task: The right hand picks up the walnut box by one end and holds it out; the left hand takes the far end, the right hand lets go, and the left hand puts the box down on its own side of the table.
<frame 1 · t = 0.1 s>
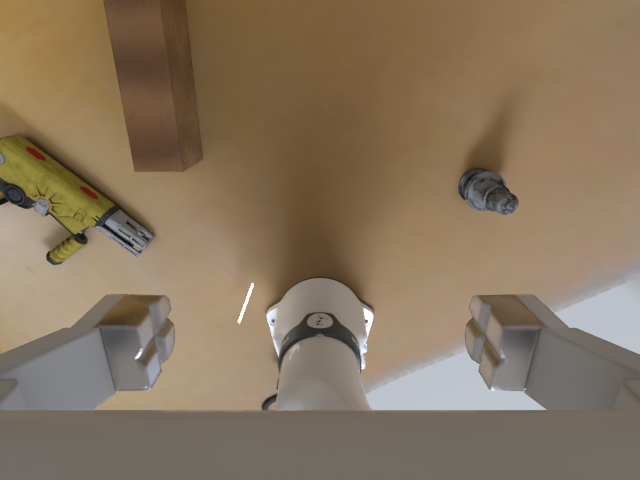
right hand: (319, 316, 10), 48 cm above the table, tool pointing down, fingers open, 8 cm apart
box: (170, 70, 52), on the table
grey chess piece: (475, 185, 57), on the table
toy gun: (68, 216, 59), on the table
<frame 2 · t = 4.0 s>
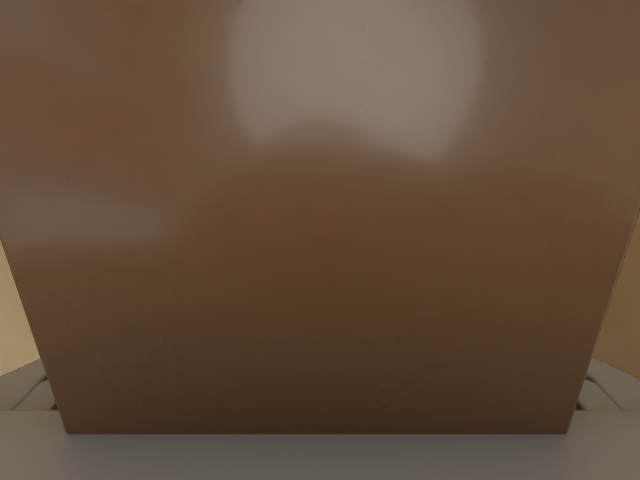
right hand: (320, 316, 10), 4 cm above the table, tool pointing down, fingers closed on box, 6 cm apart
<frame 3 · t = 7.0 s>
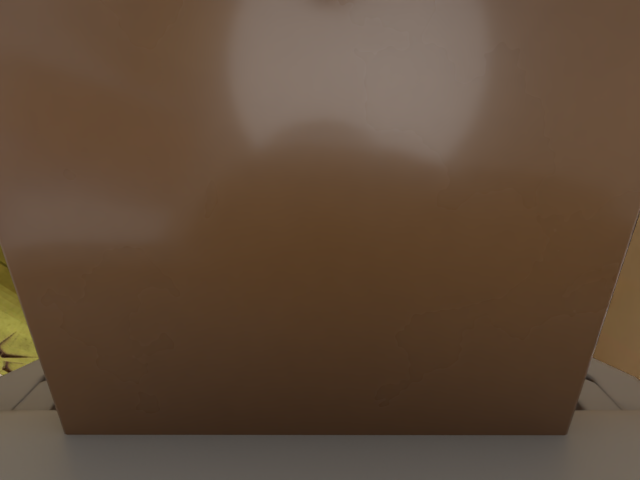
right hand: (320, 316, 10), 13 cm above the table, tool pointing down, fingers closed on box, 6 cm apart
toy gun: (50, 352, 27), on the table
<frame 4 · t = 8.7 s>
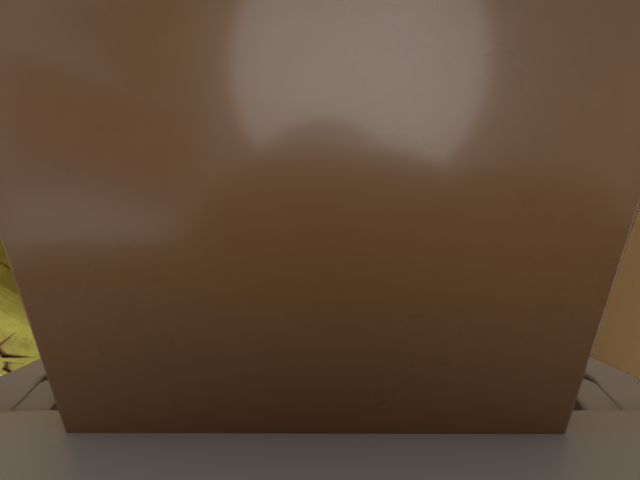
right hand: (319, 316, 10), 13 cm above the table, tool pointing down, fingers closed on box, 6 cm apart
toy gun: (51, 352, 27), on the table
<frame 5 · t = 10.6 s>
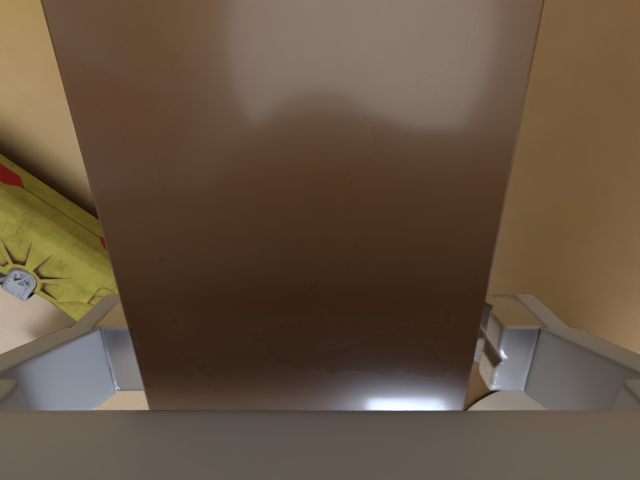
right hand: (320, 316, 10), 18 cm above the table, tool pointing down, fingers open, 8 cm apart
toy gun: (76, 287, 30), on the table
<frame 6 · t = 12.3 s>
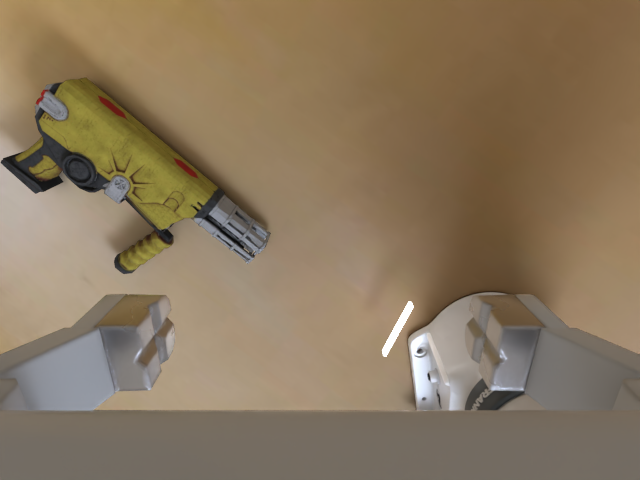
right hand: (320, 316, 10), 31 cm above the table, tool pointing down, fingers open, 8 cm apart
toy gun: (147, 204, 41), on the table
when the left hand's fingers open (6 cm above the table, at t = 16.3 s): box drops 1 cm, on the table.
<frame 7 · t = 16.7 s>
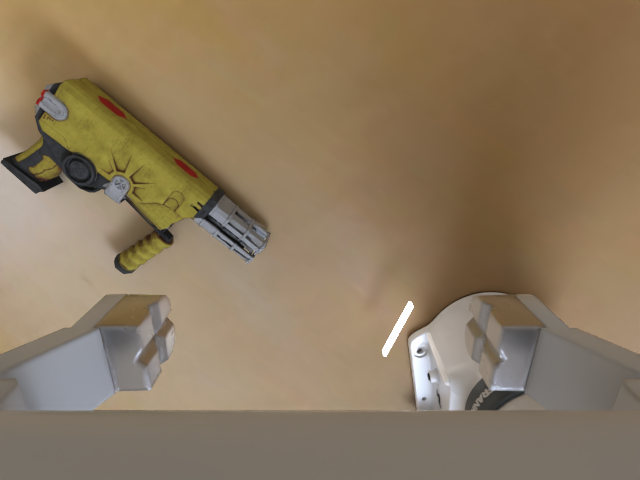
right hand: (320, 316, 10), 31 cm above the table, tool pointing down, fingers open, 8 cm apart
toy gun: (147, 204, 41), on the table
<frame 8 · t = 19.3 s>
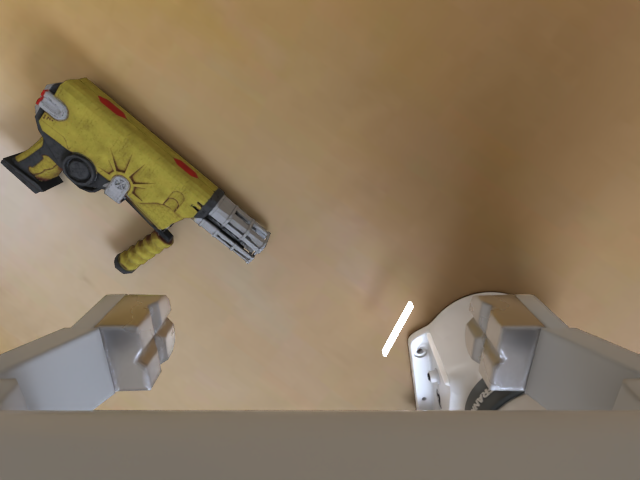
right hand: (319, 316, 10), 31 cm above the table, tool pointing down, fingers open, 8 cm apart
toy gun: (147, 204, 41), on the table
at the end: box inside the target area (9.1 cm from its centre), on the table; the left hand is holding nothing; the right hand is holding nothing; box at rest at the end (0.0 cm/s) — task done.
